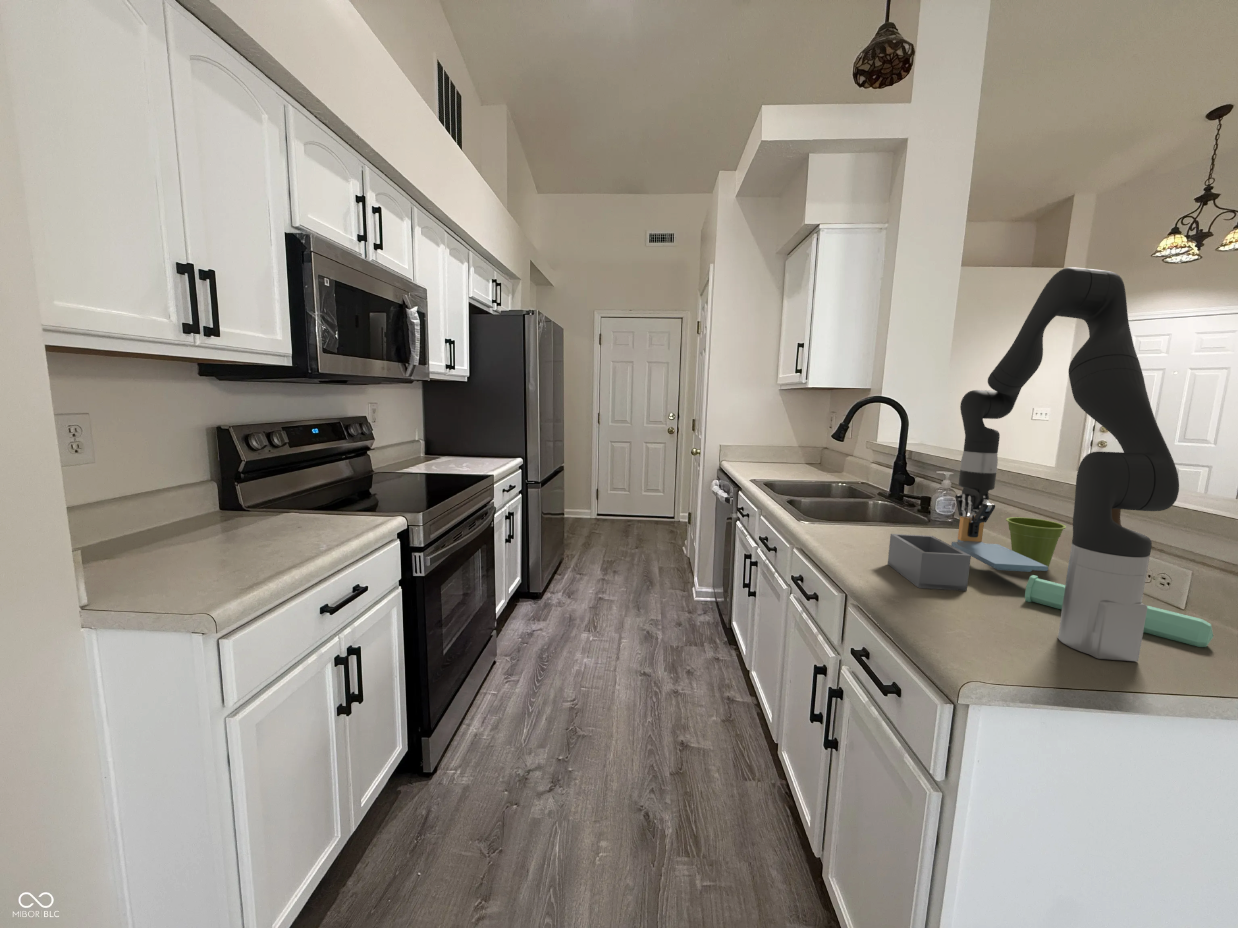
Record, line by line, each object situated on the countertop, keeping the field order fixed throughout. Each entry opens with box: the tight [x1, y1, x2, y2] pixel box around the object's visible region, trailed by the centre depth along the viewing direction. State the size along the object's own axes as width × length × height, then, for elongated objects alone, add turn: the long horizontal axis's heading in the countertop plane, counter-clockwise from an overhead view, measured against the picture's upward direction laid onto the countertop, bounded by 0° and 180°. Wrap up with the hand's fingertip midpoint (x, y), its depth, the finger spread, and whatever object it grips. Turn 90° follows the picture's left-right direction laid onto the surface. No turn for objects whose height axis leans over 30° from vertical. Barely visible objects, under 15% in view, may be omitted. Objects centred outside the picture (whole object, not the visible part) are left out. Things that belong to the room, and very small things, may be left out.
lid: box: [950, 516, 1049, 573], centre depth 118 cm, size 20×11×8 cm, turn 174°
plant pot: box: [1005, 516, 1067, 568], centre depth 127 cm, size 12×12×11 cm
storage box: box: [887, 533, 972, 592], centre depth 116 cm, size 16×10×8 cm, turn 174°
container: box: [1024, 574, 1214, 648], centre depth 94 cm, size 6×6×25 cm
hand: (970, 535), depth 127 cm, fingers closed on lid, 1 cm apart
